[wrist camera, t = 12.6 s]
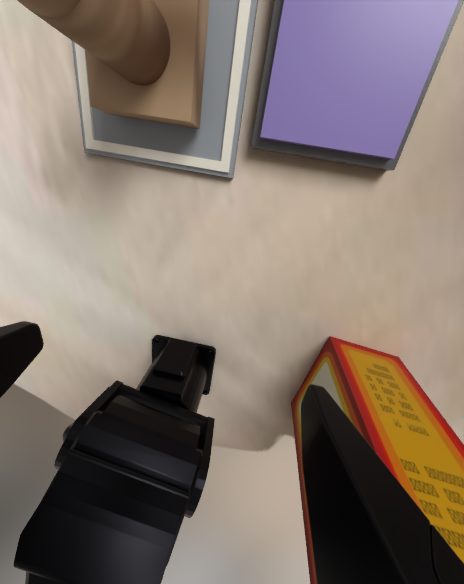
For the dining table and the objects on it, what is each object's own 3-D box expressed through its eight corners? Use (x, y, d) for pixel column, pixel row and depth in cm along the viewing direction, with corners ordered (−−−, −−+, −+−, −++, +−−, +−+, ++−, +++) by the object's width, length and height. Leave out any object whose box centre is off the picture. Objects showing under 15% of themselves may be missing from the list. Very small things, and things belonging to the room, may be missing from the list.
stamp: (201, 130, 16) (107, 59, 6) (115, 116, 16) (-91, 30, 7) (211, 0, 13) (76, -441, 4) (107, -13, 13) (-252, -448, 4)
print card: (233, 178, 17) (232, 178, 16) (88, 153, 17) (82, 152, 17) (266, -59, 12) (266, -70, 11) (63, -83, 13) (54, -94, 12)
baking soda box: (348, 420, 26) (451, 727, 11) (291, 403, 26) (321, 686, 11) (398, 357, 21) (667, 718, 7) (329, 336, 21) (456, 652, 7)
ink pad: (386, 170, 15) (399, 169, 14) (252, 148, 16) (250, 145, 14) (469, -36, 11) (498, -66, 10) (285, -57, 12) (288, -89, 10)
